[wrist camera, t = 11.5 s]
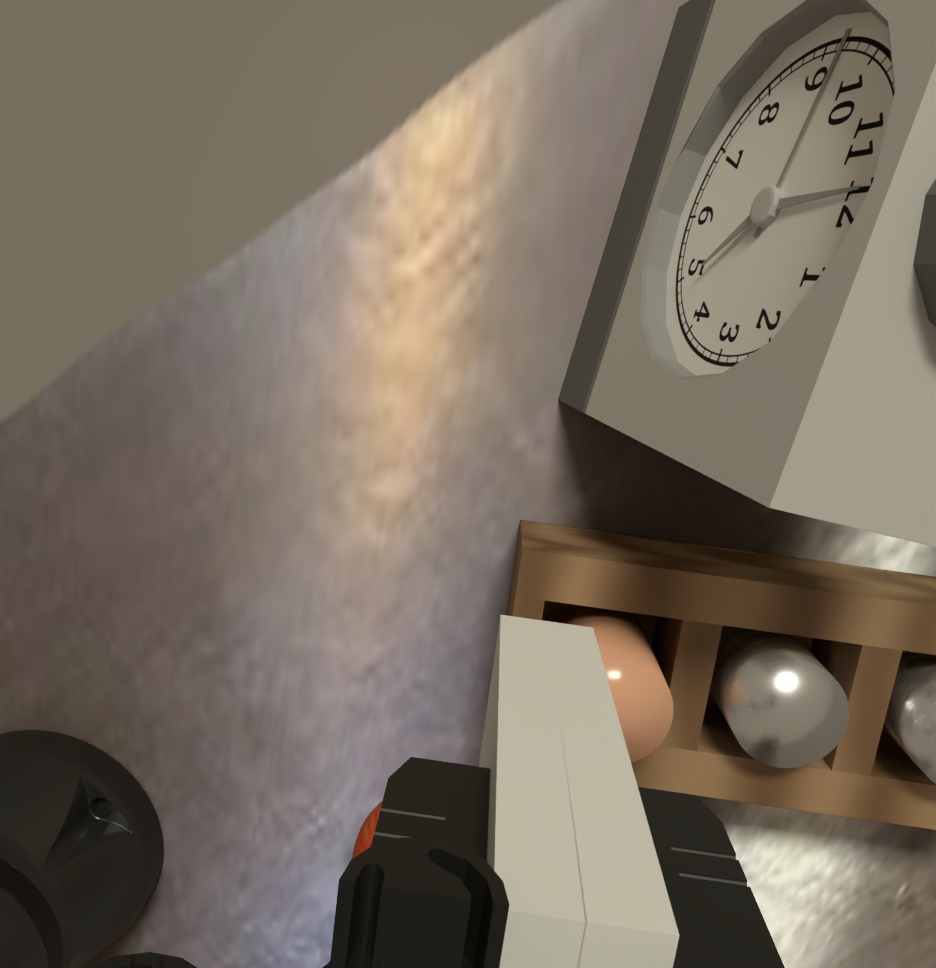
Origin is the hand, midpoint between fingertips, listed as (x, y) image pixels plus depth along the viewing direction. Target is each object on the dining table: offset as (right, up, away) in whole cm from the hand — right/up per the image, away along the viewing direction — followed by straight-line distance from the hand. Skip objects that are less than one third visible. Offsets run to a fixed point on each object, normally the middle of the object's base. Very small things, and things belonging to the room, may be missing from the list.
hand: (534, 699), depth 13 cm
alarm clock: (+14, +16, +30) cm, 36 cm away
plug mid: (+15, -6, +33) cm, 37 cm away
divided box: (+15, -6, +34) cm, 37 cm away
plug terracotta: (+6, -6, +31) cm, 32 cm away
